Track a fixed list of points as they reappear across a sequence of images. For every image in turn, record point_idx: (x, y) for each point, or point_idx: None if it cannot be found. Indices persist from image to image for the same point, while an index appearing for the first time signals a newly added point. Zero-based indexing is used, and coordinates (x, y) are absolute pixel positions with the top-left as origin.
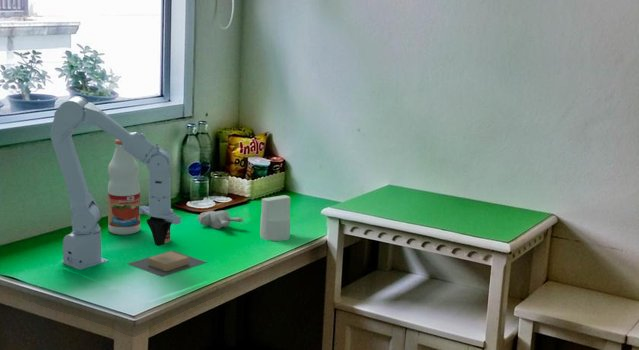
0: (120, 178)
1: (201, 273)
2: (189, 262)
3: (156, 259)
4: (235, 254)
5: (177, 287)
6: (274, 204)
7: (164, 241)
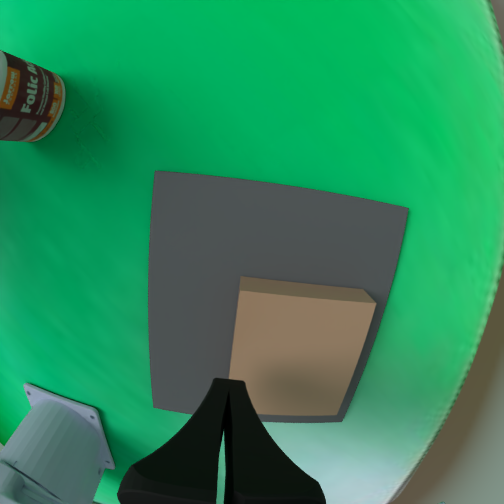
0: None
1: (433, 310)
2: (347, 261)
3: (267, 406)
4: (413, 39)
5: (411, 422)
6: None
7: (246, 391)
